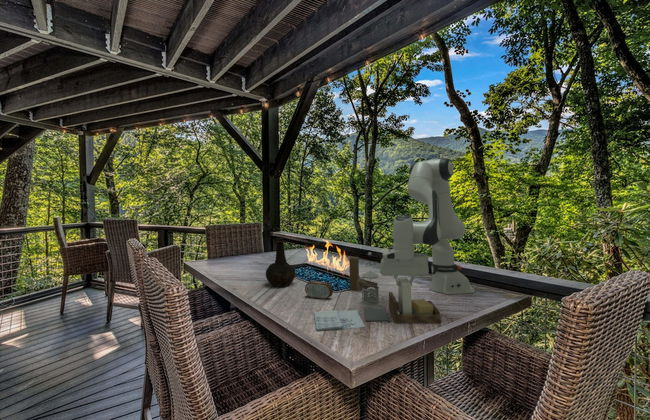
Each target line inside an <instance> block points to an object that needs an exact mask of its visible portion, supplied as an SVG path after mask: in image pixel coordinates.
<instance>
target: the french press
mask: <svg viewBox="0 0 650 420" xmlns="http://www.w3.org/2000/svg"><path fill="white" fill-rule="evenodd" d="M367 255H368V256H372V252H370V251H369V252H367ZM379 277H380V276H379V274H377V273H376V272H371V271H366V272H365V273H363V274H362V275H361V277H360V279H362V281H363V280H364V281H365V279H369V281H367V282H365V283H363V285H364V288H363V287H362V290H361V289H360V290H361V291H360V293H361V294H362V297H361V298H362V299H361V302H360V303H359V304H360V306H362V307H363V308H380V307H381V306H382V303H381V302H380V299H379V298H380V297H379V295H380V294H379V286H378V285H379V283H378V282H373V281H371V280H372V279H374V280H375V279H378V278H379ZM358 281H360V280H358ZM358 281H357V283H358V285H359V282H358ZM358 285H357V288H358ZM359 288H360V287H359ZM358 290H359V289H358Z"/></svg>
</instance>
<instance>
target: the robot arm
mask: <svg viewBox="0 0 650 420" xmlns="http://www.w3.org/2000/svg"><path fill="white" fill-rule="evenodd" d="M453 174H454V164H453V161H452V160H451V159H450V158H447V157H441V158H431V159H427V160H423V161H418V162H417V161H416V162H415V163H412V164H411V165H410V166H409V168H408V175H409V178H408V182H407V193H408V195H409V197H410V198H412V199H413V200H415V201H416V202H419V203H422V204H425V205H427V206H428V218H426V219H424V221H414V220H413V217H412V216H411V215H409V214H401V215H397V216H395V217H394V218H393V223H392V224H393V225H392V239H393V245H392V248H391V249H388V250H385V251H382V258H381V260H380V266H379V273H380V275H381V276H383V277H388V276H389V277H390V276H392V277H393V279H394V280H395V281H396V286H397V287H398V286H400V285H401V284H400V281H398V277H406V276H410V280H409V281H410V283H411V287H412V286H413V282H414V280H415V276H428V275H429V272H430V270H429V264H428V263H429V256H428V254H426V252H421V253H420V252H417V253H416V252H415V244H416V245H426V246H431V251H432V252H431V255H432V262H431V281H430V286H429V290H431V291H433V292H436V293H442V294H445V295H462V294H463V295H464V294H474V293H476V292H475V289H474V287H472V286H471V284H470V283H471V282H470V280H469V279H468V277H466V276H465V275H464V274H463V273H461V272H460V271H461V270H462V266H460V265H457V264H456V263H455V250H454V248H453V246H452V245H450V243H449V241H448V240H460V239H462V238H463V237H464V236H465V233H466V224H465V222H463V221H462V220H461V219H460V218H459V217H458V216H457V214H456V212H455V210H454V207H453V203H452V194H451V189H450V182H449V179H450V178H451V177H452V176H453Z"/></svg>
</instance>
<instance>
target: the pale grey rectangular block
mask: <svg viewBox="0 0 650 420" xmlns="http://www.w3.org/2000/svg"><path fill="white" fill-rule="evenodd" d="M397 280H398V281H400V284H401V285H400V286H397V293H398V294H397V297H398V301H397V302H398V305H399V312H400V314H413V312H412V308H411V300H412V286H411V283H410V280H409V279H408V277H407V276H398V278H397Z"/></svg>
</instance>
